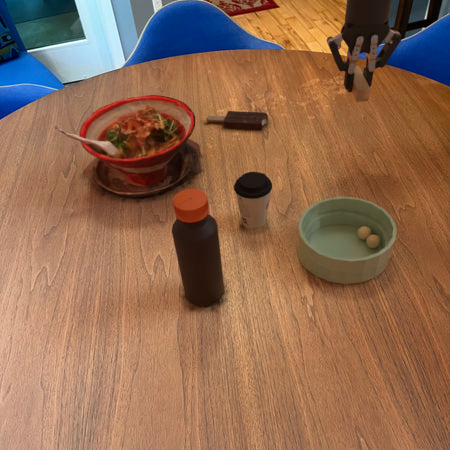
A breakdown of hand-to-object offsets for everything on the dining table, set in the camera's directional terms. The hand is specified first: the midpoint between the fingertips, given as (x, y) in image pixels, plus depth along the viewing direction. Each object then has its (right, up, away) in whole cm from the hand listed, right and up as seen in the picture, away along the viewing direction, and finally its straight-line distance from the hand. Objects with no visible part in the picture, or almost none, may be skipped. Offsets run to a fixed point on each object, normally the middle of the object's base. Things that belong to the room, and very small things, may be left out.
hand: (356, 89), depth 93 cm
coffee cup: (-20, -26, -1) cm, 33 cm away
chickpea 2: (+1, -31, -8) cm, 31 cm away
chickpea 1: (-1, -28, -7) cm, 29 cm away
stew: (-44, -14, +12) cm, 48 cm away
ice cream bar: (-23, +2, +23) cm, 33 cm away
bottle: (-29, -40, -11) cm, 51 cm away
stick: (0, 0, 0) cm, 0 cm away
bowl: (-5, -33, -8) cm, 34 cm away
